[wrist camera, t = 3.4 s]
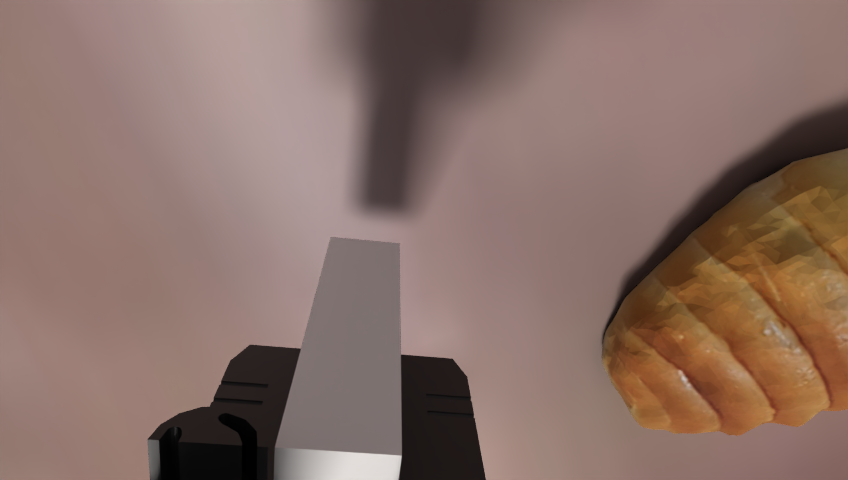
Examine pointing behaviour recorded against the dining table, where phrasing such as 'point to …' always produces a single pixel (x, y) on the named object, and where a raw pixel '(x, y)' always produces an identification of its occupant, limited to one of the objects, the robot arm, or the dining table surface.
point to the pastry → (744, 312)
